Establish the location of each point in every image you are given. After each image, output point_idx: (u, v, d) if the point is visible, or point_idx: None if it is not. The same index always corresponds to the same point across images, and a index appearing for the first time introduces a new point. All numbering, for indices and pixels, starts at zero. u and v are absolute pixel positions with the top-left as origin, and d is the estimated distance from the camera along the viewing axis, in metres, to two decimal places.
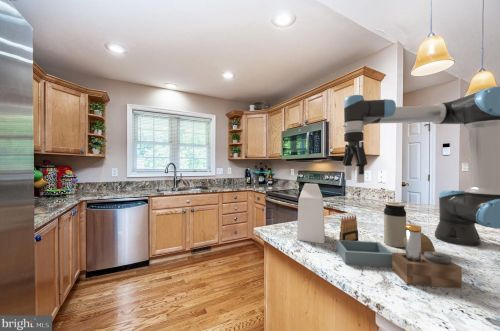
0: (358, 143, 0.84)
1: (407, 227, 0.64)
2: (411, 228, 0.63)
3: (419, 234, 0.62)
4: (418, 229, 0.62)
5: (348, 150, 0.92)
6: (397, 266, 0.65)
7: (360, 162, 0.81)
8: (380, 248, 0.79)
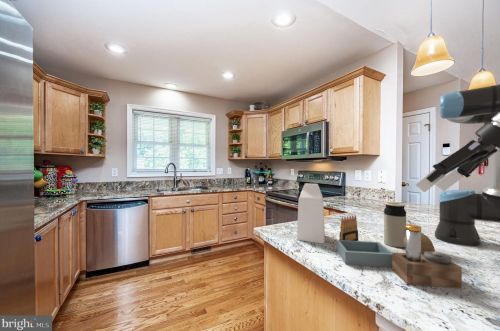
0: None
1: (407, 227, 0.64)
2: (411, 228, 0.63)
3: (419, 234, 0.62)
4: (418, 229, 0.62)
5: (479, 157, 0.53)
6: (397, 266, 0.65)
7: (471, 172, 0.62)
8: (380, 248, 0.79)
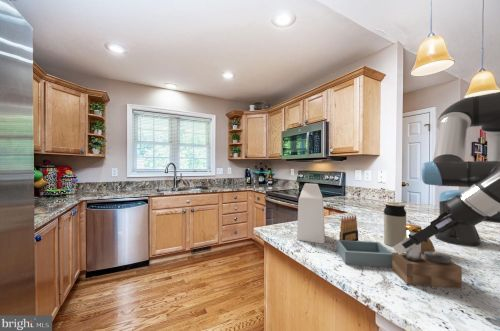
0: None
1: (407, 227, 0.64)
2: (411, 228, 0.63)
3: None
4: (418, 229, 0.62)
5: (449, 227, 0.57)
6: (397, 266, 0.65)
7: None
8: (380, 248, 0.79)
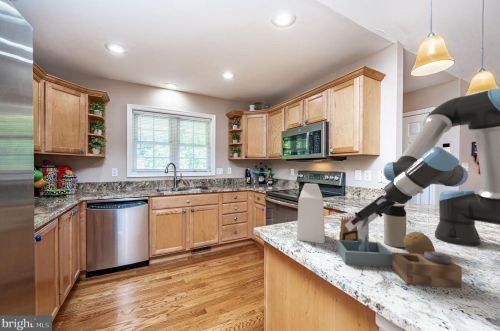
0: None
1: None
2: None
3: (366, 219, 0.76)
4: None
5: (386, 207, 0.70)
6: (397, 266, 0.65)
7: None
8: (380, 248, 0.79)
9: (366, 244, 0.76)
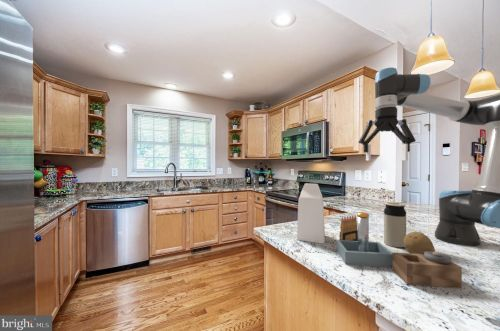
0: None
1: (358, 214, 0.78)
2: (360, 215, 0.77)
3: (367, 219, 0.76)
4: (366, 215, 0.76)
5: (383, 126, 0.83)
6: (397, 266, 0.65)
7: (414, 139, 0.82)
8: (380, 248, 0.79)
9: (366, 244, 0.76)
